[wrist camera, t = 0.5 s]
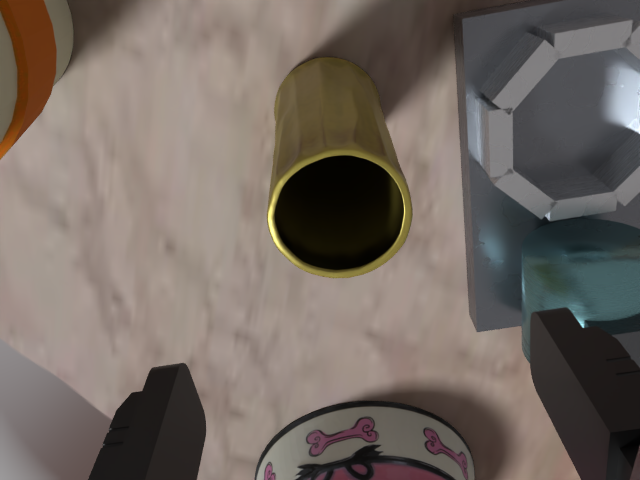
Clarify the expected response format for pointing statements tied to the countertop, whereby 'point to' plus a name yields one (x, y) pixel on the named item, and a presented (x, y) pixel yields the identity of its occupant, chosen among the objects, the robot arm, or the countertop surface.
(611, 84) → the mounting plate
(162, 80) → the countertop surface
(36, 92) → the reusable coffee cup
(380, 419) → the dog bowl
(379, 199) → the vase
